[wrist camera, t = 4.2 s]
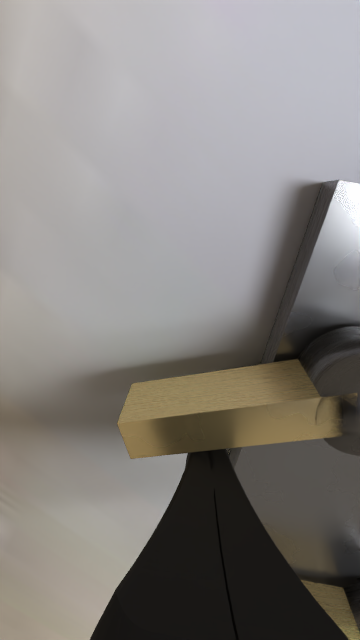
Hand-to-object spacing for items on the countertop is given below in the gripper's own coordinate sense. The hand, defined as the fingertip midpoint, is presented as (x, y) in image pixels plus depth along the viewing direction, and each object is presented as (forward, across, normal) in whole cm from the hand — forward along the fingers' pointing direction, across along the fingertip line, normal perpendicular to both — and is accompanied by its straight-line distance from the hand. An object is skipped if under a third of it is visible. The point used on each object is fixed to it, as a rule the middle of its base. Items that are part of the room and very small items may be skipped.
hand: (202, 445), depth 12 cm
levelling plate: (+2, -9, +1) cm, 9 cm away
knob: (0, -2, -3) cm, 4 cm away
